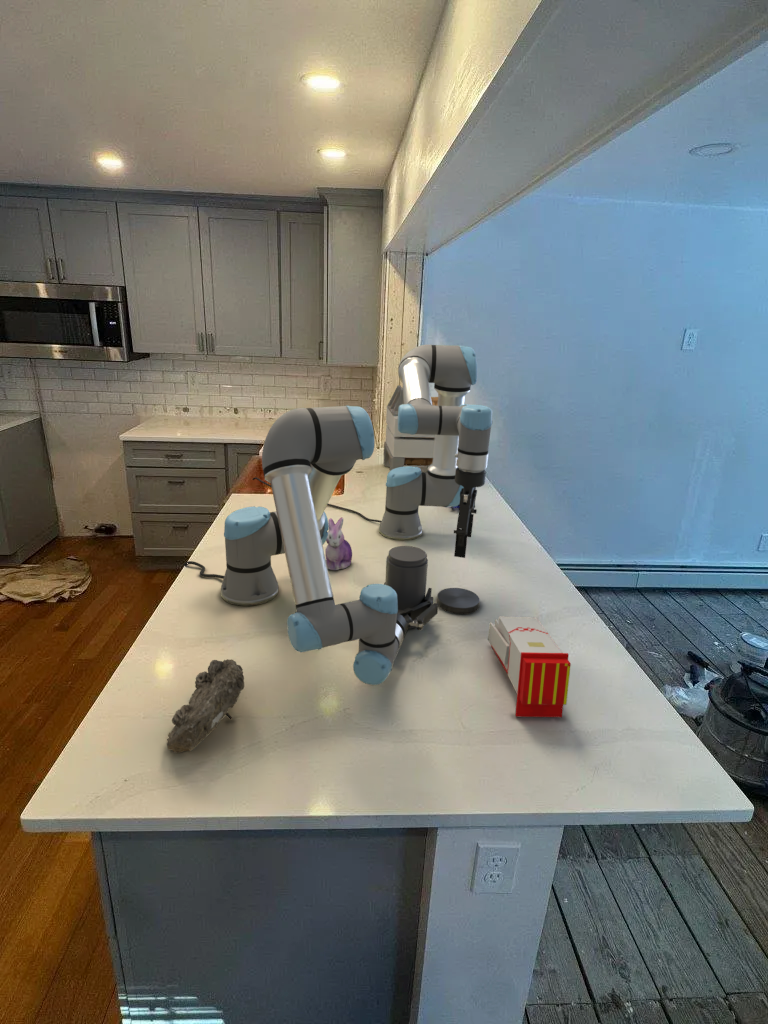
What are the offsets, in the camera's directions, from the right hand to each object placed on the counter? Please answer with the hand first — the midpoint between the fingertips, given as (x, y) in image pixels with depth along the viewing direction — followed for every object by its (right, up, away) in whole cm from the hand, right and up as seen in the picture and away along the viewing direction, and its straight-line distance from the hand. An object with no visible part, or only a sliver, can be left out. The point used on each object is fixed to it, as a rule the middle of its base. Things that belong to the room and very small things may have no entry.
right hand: (463, 546), depth 149 cm
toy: (+9, -27, -24) cm, 38 cm away
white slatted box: (-4, +28, +126) cm, 129 cm away
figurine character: (+8, +11, +81) cm, 82 cm away
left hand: (-15, -11, -2) cm, 18 cm away
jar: (-16, -18, -3) cm, 24 cm away
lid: (-1, -15, +5) cm, 15 cm away
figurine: (-35, -7, +25) cm, 43 cm away
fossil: (-54, -30, -41) cm, 74 cm away
